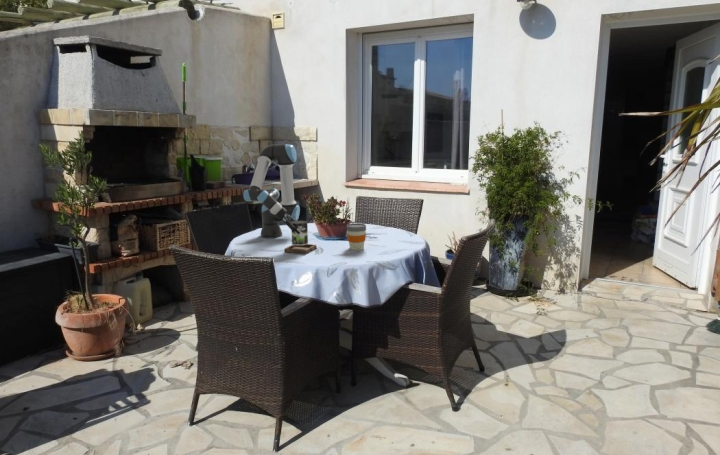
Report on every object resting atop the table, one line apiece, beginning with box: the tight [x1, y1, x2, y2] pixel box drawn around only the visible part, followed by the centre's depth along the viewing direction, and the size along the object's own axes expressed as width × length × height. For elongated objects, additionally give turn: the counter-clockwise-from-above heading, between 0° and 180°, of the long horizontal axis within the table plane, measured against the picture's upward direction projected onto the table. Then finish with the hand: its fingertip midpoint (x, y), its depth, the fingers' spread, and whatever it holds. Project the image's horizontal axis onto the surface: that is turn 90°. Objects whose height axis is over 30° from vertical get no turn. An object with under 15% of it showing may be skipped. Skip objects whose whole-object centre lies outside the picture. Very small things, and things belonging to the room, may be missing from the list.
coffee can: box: [291, 220, 309, 246], centre depth 331 cm, size 10×10×14 cm
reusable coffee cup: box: [346, 222, 367, 251], centre depth 336 cm, size 12×13×15 cm
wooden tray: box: [283, 243, 318, 255], centre depth 334 cm, size 15×15×2 cm
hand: (304, 235), depth 331 cm, fingers closed on coffee can, 10 cm apart
